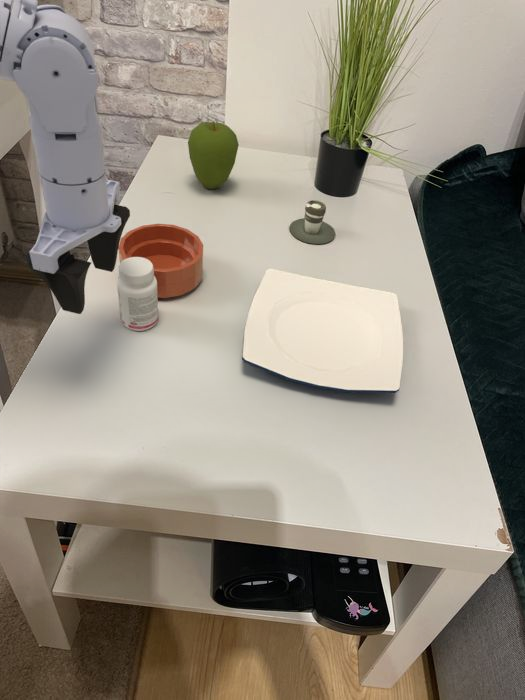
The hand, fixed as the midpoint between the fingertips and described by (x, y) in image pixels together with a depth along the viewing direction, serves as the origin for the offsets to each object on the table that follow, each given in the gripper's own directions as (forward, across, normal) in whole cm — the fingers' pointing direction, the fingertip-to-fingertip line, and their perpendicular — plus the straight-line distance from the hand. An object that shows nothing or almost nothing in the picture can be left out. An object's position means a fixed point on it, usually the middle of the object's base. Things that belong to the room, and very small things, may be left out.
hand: (89, 288), depth 57 cm
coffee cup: (+9, +36, -21) cm, 43 cm away
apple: (+9, +44, -1) cm, 45 cm away
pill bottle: (+10, +6, -3) cm, 12 cm away
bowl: (+9, +16, -2) cm, 19 cm away
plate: (+9, +11, -26) cm, 30 cm away
